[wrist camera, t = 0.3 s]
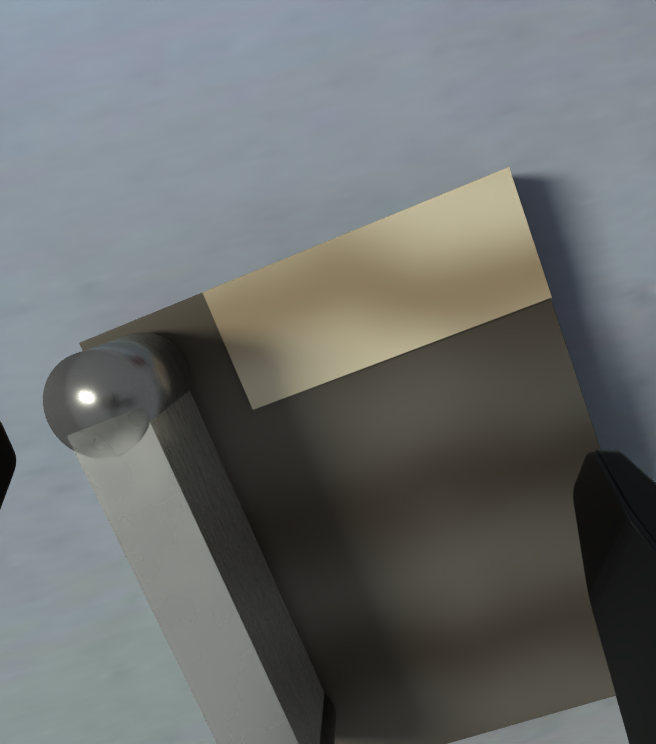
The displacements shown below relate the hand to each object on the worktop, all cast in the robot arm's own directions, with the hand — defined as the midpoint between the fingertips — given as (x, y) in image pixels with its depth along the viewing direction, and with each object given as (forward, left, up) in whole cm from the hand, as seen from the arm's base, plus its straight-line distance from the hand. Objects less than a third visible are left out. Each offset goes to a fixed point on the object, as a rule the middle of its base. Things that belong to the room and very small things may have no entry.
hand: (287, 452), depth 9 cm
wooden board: (-7, +1, -14) cm, 16 cm away
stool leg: (-6, +7, -12) cm, 15 cm away
